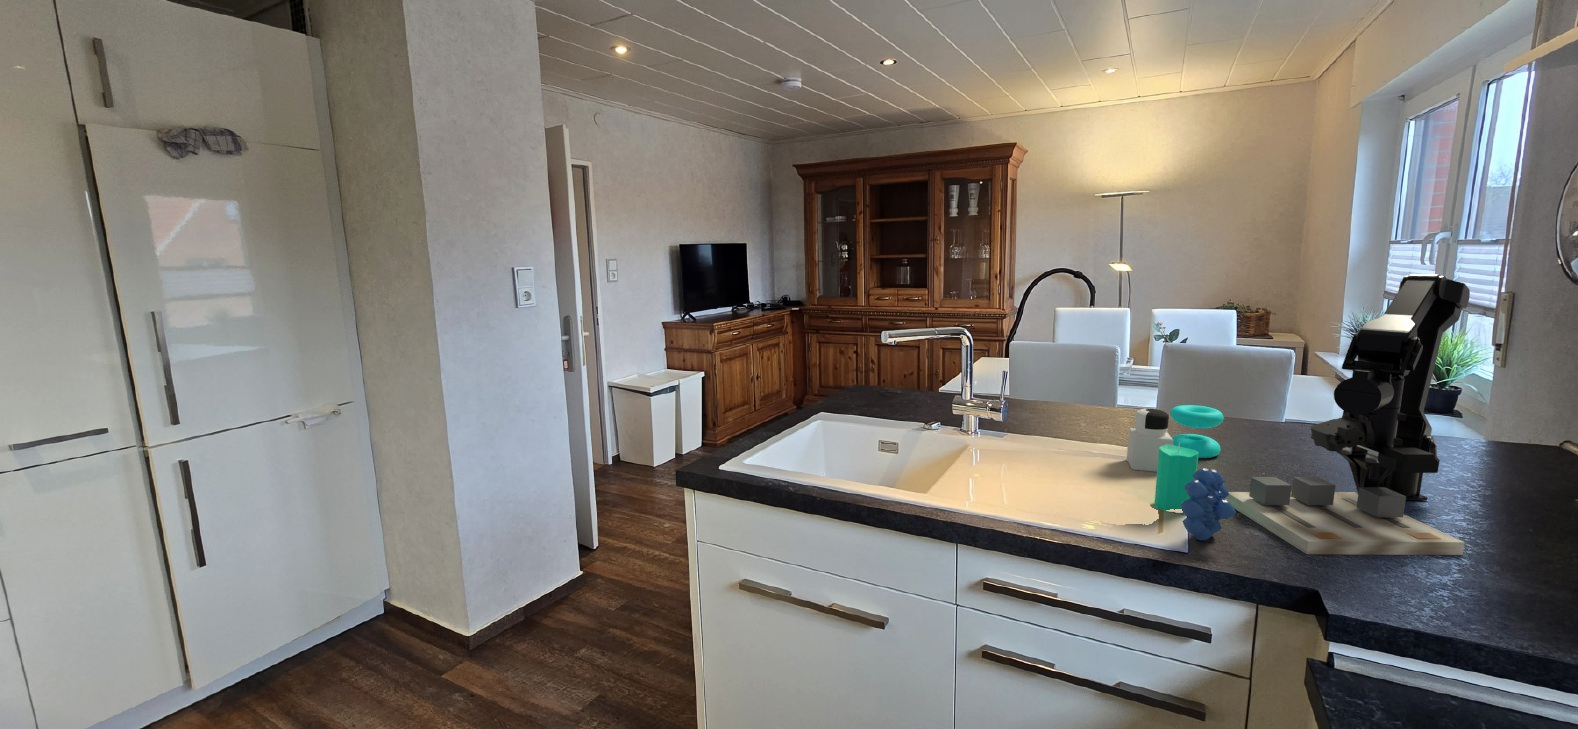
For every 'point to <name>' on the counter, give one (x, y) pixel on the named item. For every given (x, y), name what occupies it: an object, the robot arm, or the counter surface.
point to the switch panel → (1345, 528)
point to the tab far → (1270, 491)
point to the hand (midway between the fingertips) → (1363, 496)
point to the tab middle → (1313, 490)
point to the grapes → (1206, 504)
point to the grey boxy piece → (1381, 502)
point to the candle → (1174, 475)
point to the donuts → (1197, 419)
